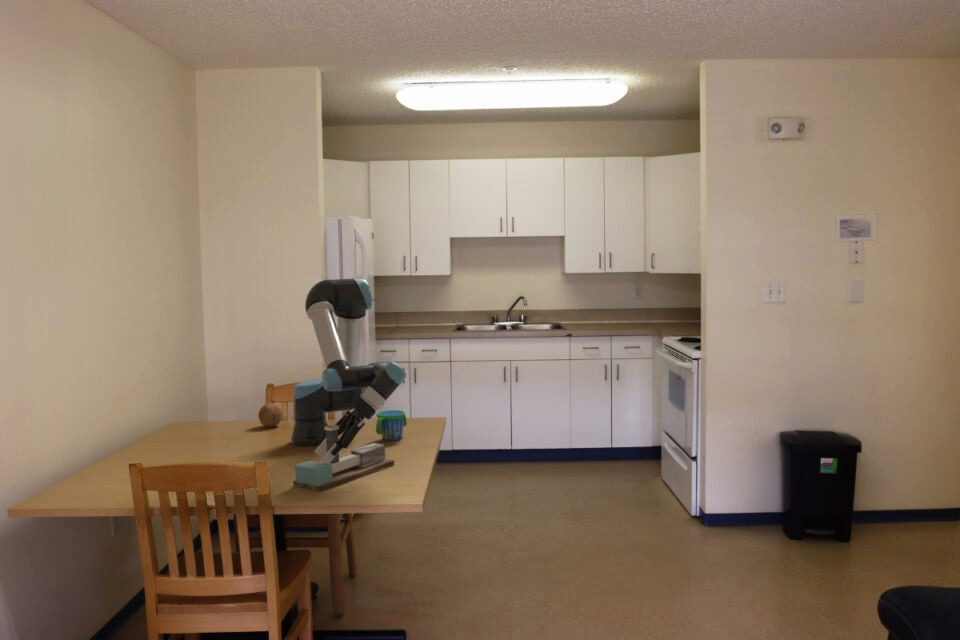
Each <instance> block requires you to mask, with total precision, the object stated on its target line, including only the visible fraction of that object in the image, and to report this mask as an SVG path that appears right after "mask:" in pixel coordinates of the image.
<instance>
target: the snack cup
mask: <svg viewBox="0 0 960 640" xmlns="http://www.w3.org/2000/svg"><path fill="white" fill-rule="evenodd" d="M406 417H407V416H406V413H405V411H404V410H399V409H398V410H397V409H389V410H382V411H379V412H378V413H377V414H376V418H377V421H376V426H375V427H376V428H375V432H376V434H377V435H381V438H382V440H384V441H388V440H393V441H397V440H398V439H399V440H400V439H402V438H403V432H404V427H406V426H407V424H408V423H407V418H406ZM399 440H398V441H399Z"/></svg>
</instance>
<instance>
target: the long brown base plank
mask: <svg viewBox="0 0 960 640" xmlns="http://www.w3.org/2000/svg"><path fill="white" fill-rule="evenodd" d="M354 453H358V454H361V464H359V465H356V466H353V467H350V468H347V469H344V470H341V471H339V472H336V473H333V474H332V477H333V481H332V482H329V483H326V484H323V485H320V486H315V485H310V484H305V483H300V482H296V480H293V482H292V483H293V487H299V488H302V489H307V490H312V491H316V492H324V491H326V490H329V489H331V488H335V487H337V486H340V485H343V484H345V483H348V482H351V481H354V480H357V479H359V478H362V477H364V475H365V476H367V474H368V475H370V474H373V473H375V471H376V472H378V471H377V470H379V471H381V470H383V468H384V469H387V468H389V467H391V465H392V466H394V465H395V459H388V458H386V446H385V444H382V443H375V442H373V443H371V444H368V445H364V446H361V447H358V448H355V449H354V448H353V449H351V450H350V455H351V454H354ZM388 466H389V467H388ZM386 467H387V468H386ZM380 469H381V470H380ZM372 472H373V473H372ZM369 473H370V474H369ZM361 476H362V477H361ZM358 477H359V478H358ZM356 478H357V479H356ZM353 479H354V480H353ZM350 480H351V481H350Z"/></svg>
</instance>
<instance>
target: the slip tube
mask: <svg viewBox="0 0 960 640" xmlns="http://www.w3.org/2000/svg"><path fill="white" fill-rule="evenodd" d="M324 429H325V430H326V442H327V451H326V453H327V452H328V451H329V450H330V448H331V447H332V446H333V445H334V444H335V441H338V440H339V436H338V429H339V426H336V425H335V424H330V425H329V424H328V426H326V427H324ZM323 463H324V464H326V463H325V462H323ZM329 464H330V465H332V474H333V473H336V472H339V471H341V470H344V469H347V468H350V467H353V466H356V465H359V464H361V454H358V453H354V454H351V453H350V454H348V455H345V456H342V457H340V452H339V453H338V454H337V455H336V456H335V457H334V459H333V460H332V461H331V462H330V463H329Z"/></svg>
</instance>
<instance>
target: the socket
mask: <svg viewBox="0 0 960 640" xmlns="http://www.w3.org/2000/svg"><path fill="white" fill-rule="evenodd" d="M324 463H325V462H318V461H312V460H307V461H304V462H302V463H301V462H300V463H299V464H294V473H295V474H294V476H295V477H294V478H295V480H296V482H300V483H305V484H310V485H315V486H320V485H323V484H326V483H329V482H332V481H333V477H332V465H330V464H324ZM295 480H294V481H295Z"/></svg>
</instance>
